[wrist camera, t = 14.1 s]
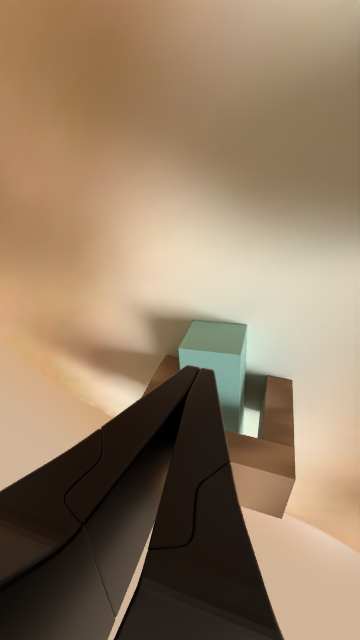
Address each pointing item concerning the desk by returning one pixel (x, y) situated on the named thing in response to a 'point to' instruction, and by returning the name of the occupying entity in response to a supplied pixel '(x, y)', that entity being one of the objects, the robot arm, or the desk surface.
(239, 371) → the green rectangular block
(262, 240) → the desk surface
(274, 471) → the brown u-shaped block
